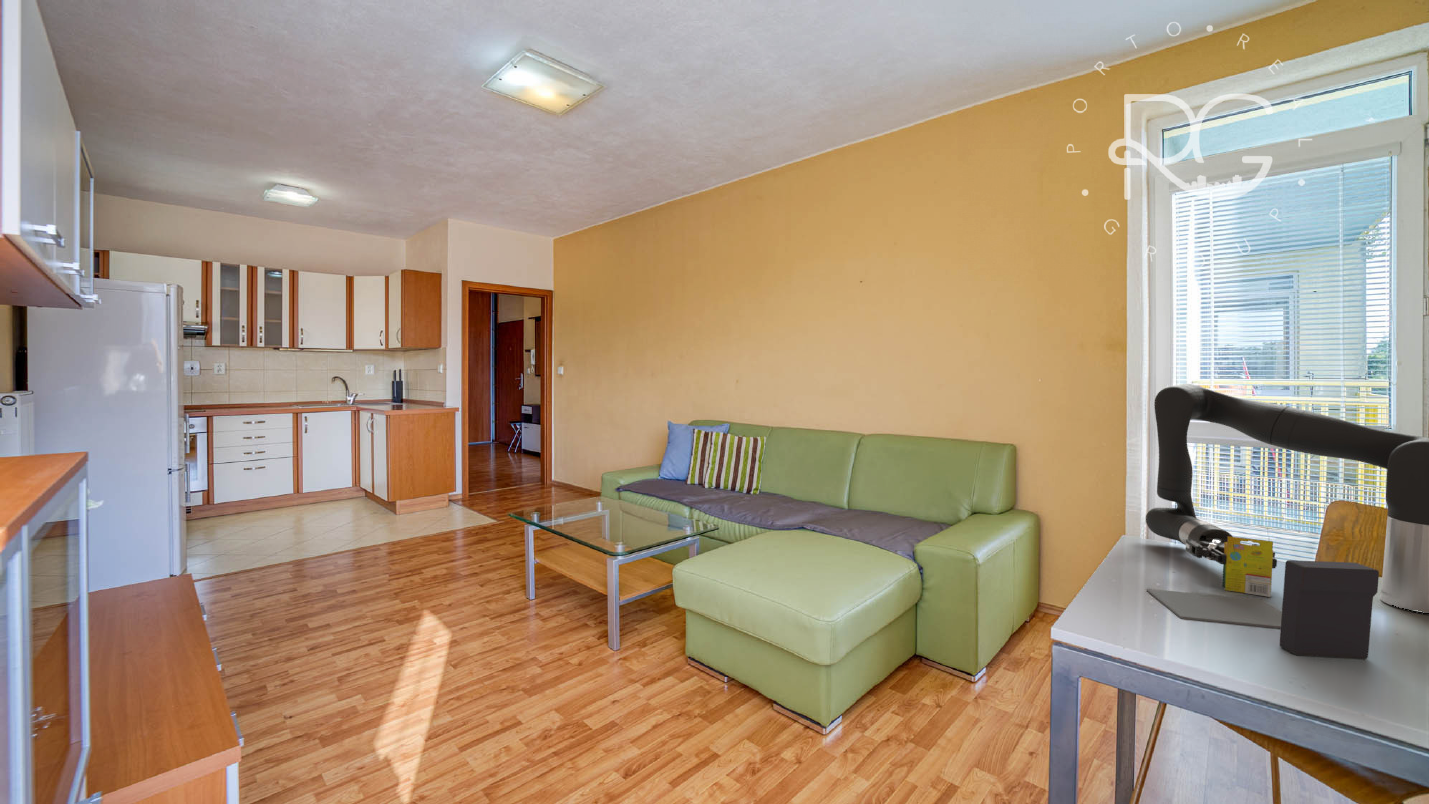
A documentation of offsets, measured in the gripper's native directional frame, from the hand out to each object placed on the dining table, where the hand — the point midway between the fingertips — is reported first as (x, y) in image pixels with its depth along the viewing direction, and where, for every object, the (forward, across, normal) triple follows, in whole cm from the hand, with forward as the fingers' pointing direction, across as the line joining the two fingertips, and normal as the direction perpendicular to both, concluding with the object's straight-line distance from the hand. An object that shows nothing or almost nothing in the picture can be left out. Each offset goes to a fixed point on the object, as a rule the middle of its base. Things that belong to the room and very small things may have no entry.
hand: (1249, 561), depth 121 cm
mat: (+12, -10, +6) cm, 17 cm away
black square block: (+28, -4, +7) cm, 29 cm away
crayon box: (0, 0, +7) cm, 7 cm away
